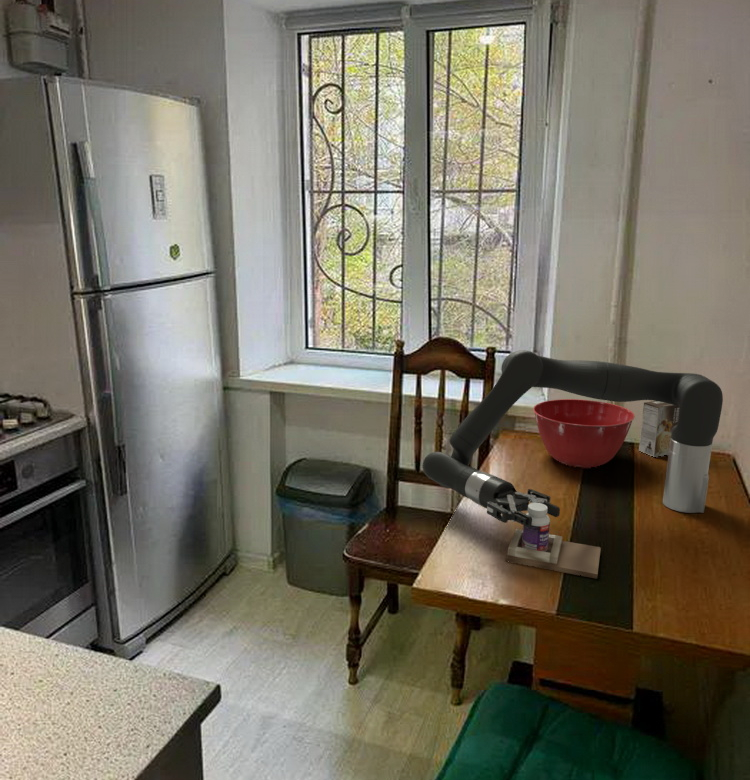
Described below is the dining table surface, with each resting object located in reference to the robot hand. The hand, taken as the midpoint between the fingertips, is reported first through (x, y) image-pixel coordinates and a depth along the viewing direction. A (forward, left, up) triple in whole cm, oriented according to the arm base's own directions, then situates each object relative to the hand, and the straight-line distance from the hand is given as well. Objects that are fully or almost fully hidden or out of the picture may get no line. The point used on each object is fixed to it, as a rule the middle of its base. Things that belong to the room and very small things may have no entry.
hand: (544, 517), depth 138 cm
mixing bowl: (-2, -64, -9) cm, 65 cm away
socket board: (-2, -1, -9) cm, 9 cm away
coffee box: (-24, -80, -9) cm, 84 cm away
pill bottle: (+2, -1, -8) cm, 8 cm away
